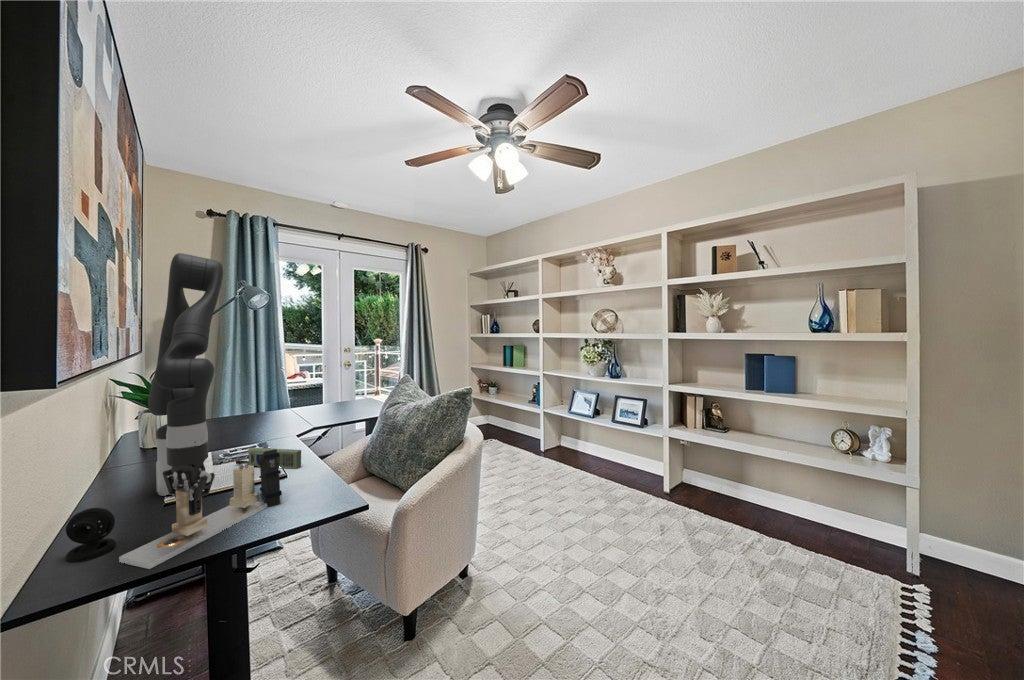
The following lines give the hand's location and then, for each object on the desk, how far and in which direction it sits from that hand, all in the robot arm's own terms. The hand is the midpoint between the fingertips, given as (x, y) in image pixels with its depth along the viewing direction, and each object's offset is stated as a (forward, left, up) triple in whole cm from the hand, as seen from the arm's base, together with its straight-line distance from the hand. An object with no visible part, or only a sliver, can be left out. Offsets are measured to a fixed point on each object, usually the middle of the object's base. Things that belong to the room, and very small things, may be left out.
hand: (189, 512), depth 90 cm
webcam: (-15, -10, -6) cm, 19 cm away
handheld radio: (-23, +42, -7) cm, 49 cm away
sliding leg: (0, 0, -5) cm, 5 cm away
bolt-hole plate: (0, +3, -6) cm, 7 cm away
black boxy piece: (0, +22, -6) cm, 23 cm away
